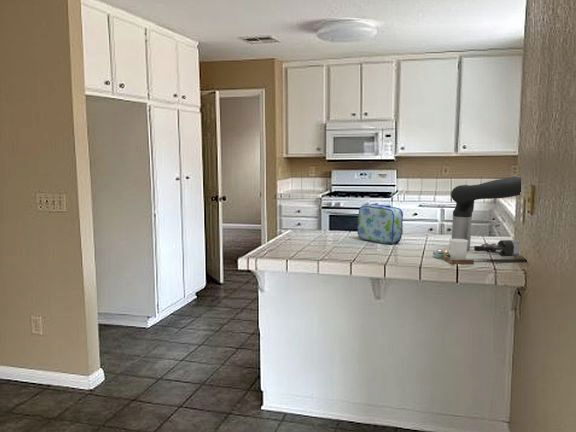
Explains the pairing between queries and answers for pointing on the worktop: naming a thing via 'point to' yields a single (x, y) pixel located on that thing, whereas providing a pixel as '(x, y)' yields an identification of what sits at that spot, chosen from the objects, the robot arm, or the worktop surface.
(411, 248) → the worktop surface
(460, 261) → the cradle
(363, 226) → the lunch box
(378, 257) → the worktop surface
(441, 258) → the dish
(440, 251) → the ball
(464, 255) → the white cup
